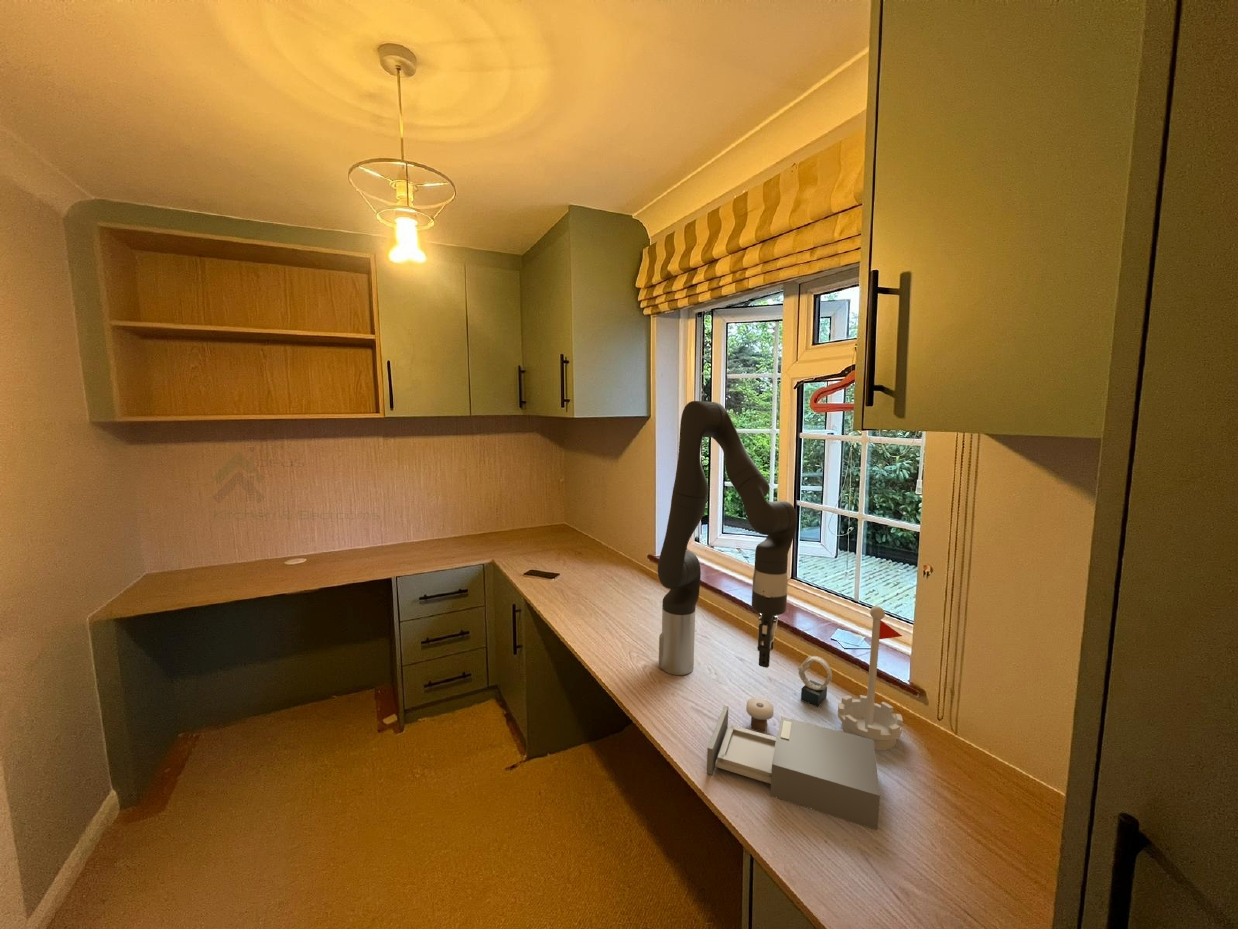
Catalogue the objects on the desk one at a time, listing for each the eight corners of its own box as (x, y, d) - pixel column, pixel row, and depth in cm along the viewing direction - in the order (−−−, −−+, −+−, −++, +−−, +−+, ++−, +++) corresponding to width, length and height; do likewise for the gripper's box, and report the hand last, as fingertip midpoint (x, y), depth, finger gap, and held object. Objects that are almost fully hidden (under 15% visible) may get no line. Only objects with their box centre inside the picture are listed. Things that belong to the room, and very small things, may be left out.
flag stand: (828, 734, 111) (837, 607, 108) (846, 708, 121) (855, 591, 117) (892, 762, 102) (904, 624, 99) (906, 732, 112) (917, 606, 109)
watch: (802, 688, 129) (804, 648, 128) (833, 701, 124) (836, 659, 122) (793, 697, 125) (795, 656, 124) (824, 710, 120) (827, 668, 118)
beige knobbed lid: (744, 715, 111) (744, 708, 111) (748, 701, 117) (748, 694, 117) (771, 722, 109) (771, 715, 109) (774, 708, 115) (775, 701, 114)
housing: (770, 795, 93) (772, 763, 92) (779, 744, 107) (780, 715, 107) (877, 830, 86) (880, 794, 85) (871, 769, 100) (873, 738, 99)
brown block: (750, 728, 113) (751, 713, 112) (752, 720, 115) (753, 706, 115) (765, 731, 111) (765, 717, 111) (767, 723, 114) (767, 709, 114)
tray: (706, 773, 98) (707, 747, 97) (723, 728, 112) (724, 705, 111) (802, 803, 91) (804, 776, 90) (807, 751, 105) (808, 727, 104)
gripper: (756, 577, 118) (753, 641, 120) (747, 597, 105) (744, 668, 107) (789, 581, 115) (785, 647, 117) (784, 603, 102) (780, 676, 104)
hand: (766, 657), depth 112 cm, fingers open, 8 cm apart
